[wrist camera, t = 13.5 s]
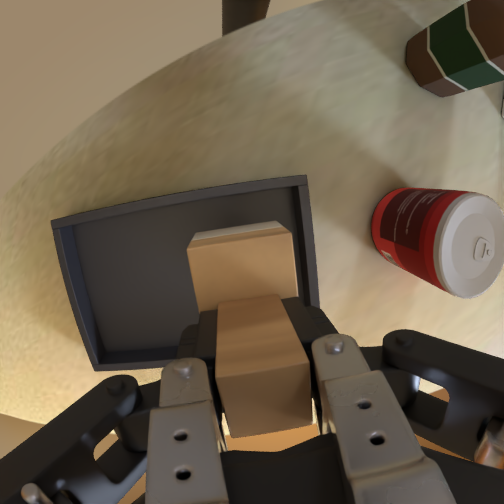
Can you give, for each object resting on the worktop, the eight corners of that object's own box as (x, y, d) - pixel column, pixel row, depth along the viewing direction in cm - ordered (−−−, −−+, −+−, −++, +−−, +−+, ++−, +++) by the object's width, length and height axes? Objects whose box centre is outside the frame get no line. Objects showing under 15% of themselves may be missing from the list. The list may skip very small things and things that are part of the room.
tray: (65, 216, 25) (50, 220, 22) (297, 175, 26) (306, 174, 23) (103, 356, 28) (94, 371, 26) (313, 329, 30) (322, 343, 27)
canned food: (432, 259, 29) (503, 290, 19) (368, 268, 29) (433, 309, 18) (432, 186, 28) (510, 193, 17) (366, 187, 27) (439, 192, 16)
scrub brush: (194, 232, 15) (159, 295, 7) (276, 220, 15) (337, 268, 7) (219, 357, 17) (220, 482, 8) (290, 345, 17) (337, 461, 8)
